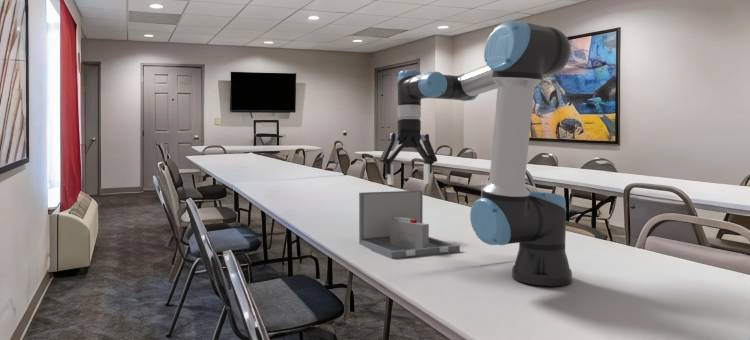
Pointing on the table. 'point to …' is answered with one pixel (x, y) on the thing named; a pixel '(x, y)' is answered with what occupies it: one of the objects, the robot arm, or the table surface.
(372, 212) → the equipment case
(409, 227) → the cassette player
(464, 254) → the table surface
